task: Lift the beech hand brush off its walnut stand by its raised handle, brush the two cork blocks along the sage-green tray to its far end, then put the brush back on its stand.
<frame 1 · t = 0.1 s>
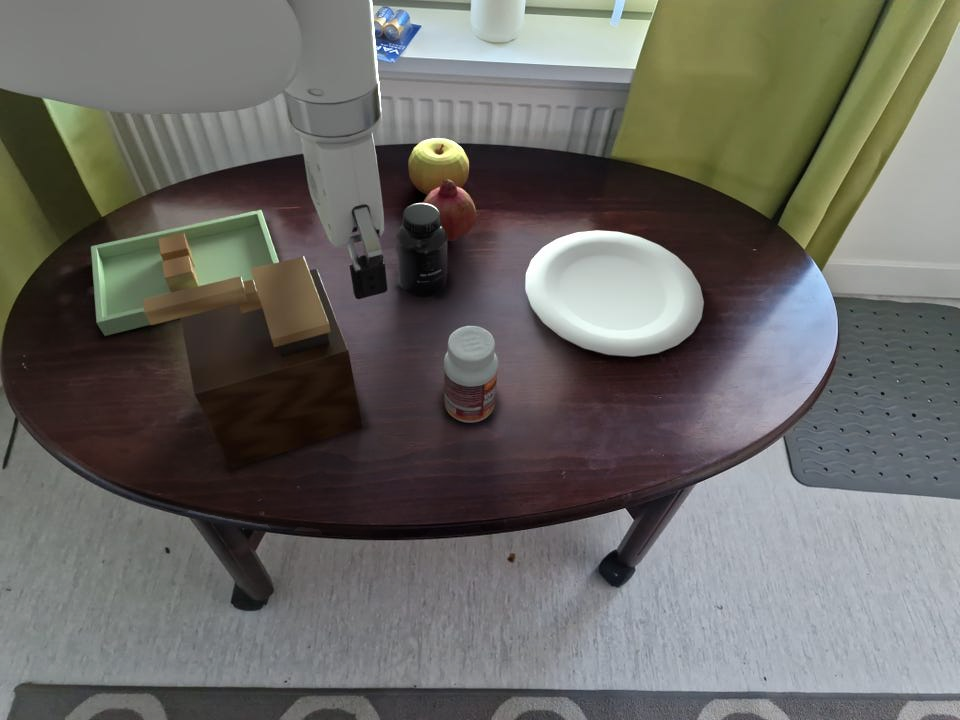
hand: (356, 261, 65), 20 cm above the table, tool pointing down, fingers open, 9 cm apart
fruit: (448, 237, 99), on the table
supplement bottle: (423, 283, 92), on the table
cork block 2: (180, 262, 92), point 1 cm above the table, touching tray
tray: (191, 275, 91), on the table
cork block 1: (185, 285, 89), point 1 cm above the table, touching tray
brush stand: (286, 404, 78), on the table
apple: (439, 189, 106), on the table
brush: (294, 316, 68), point 14 cm above the table, touching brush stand
plate: (611, 296, 92), on the table
pill bottle: (469, 404, 79), on the table
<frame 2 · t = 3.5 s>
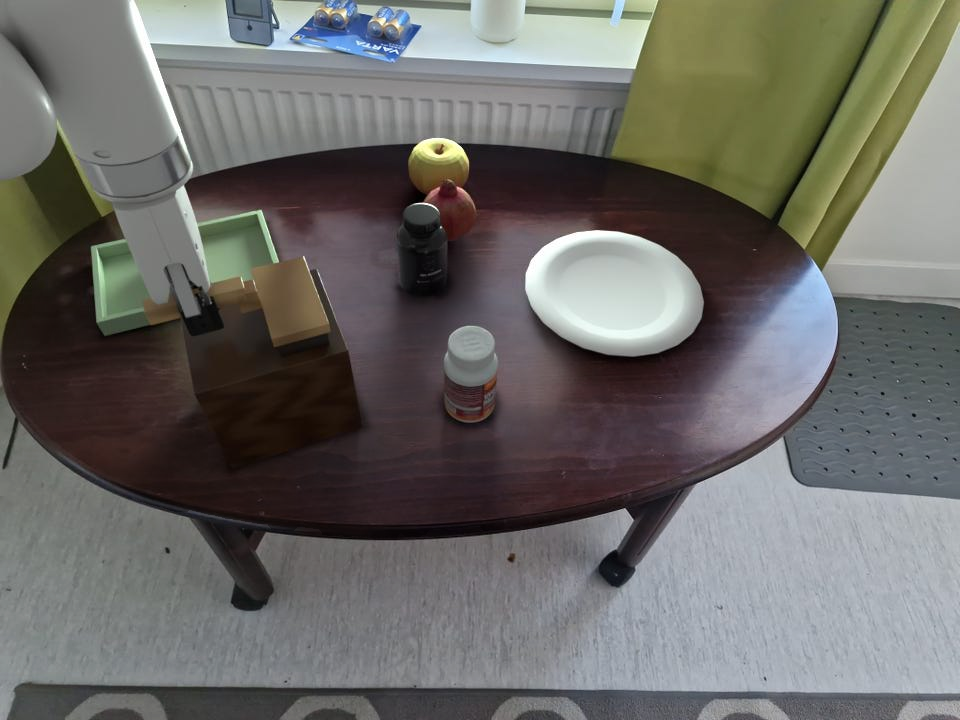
hand: (205, 320, 64), 17 cm above the table, tool pointing down, fingers closed on brush
brush: (294, 316, 68), point 14 cm above the table, touching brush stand, gripper
everything else where it was.
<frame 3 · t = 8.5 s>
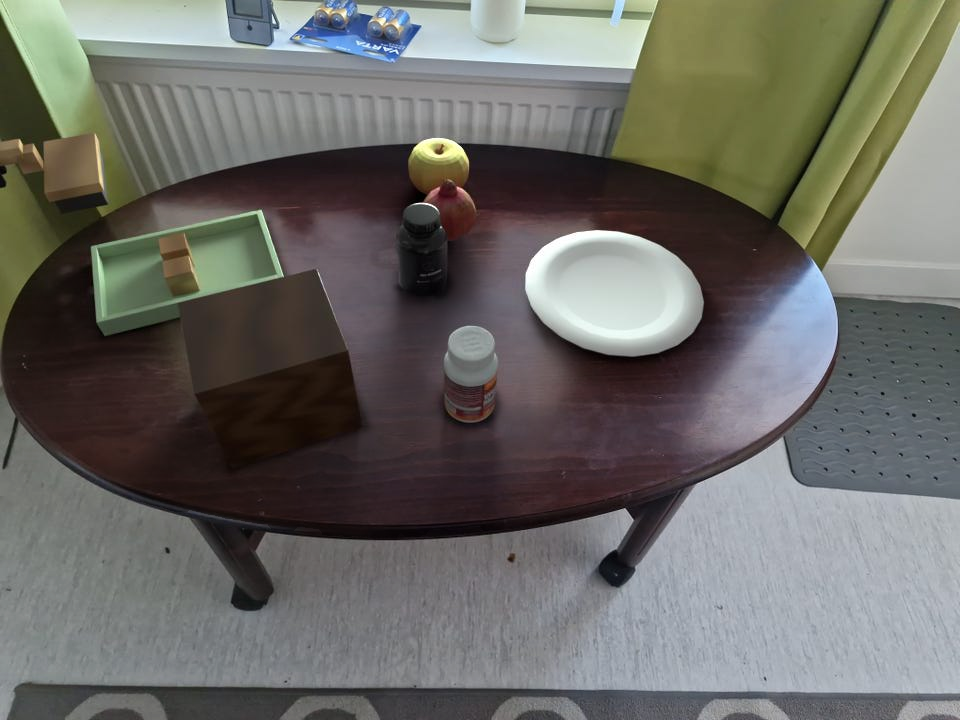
brush: (83, 184, 76), point 17 cm above the table, touching gripper
everything else where it was.
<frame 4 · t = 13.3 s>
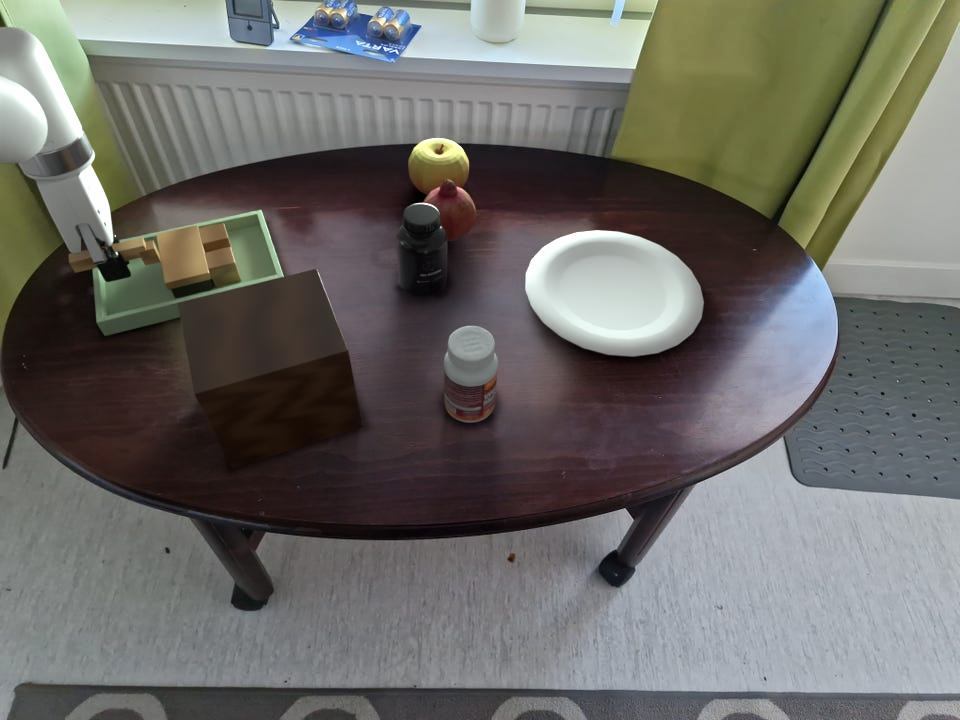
hand: (117, 271, 86), 3 cm above the table, tool pointing down, fingers closed on brush
cork block 2: (220, 252, 94), point 1 cm above the table
cork block 1: (226, 276, 91), point 1 cm above the table, touching brush
brush: (189, 270, 91), point 1 cm above the table, touching cork block 1, gripper
everything else where it was.
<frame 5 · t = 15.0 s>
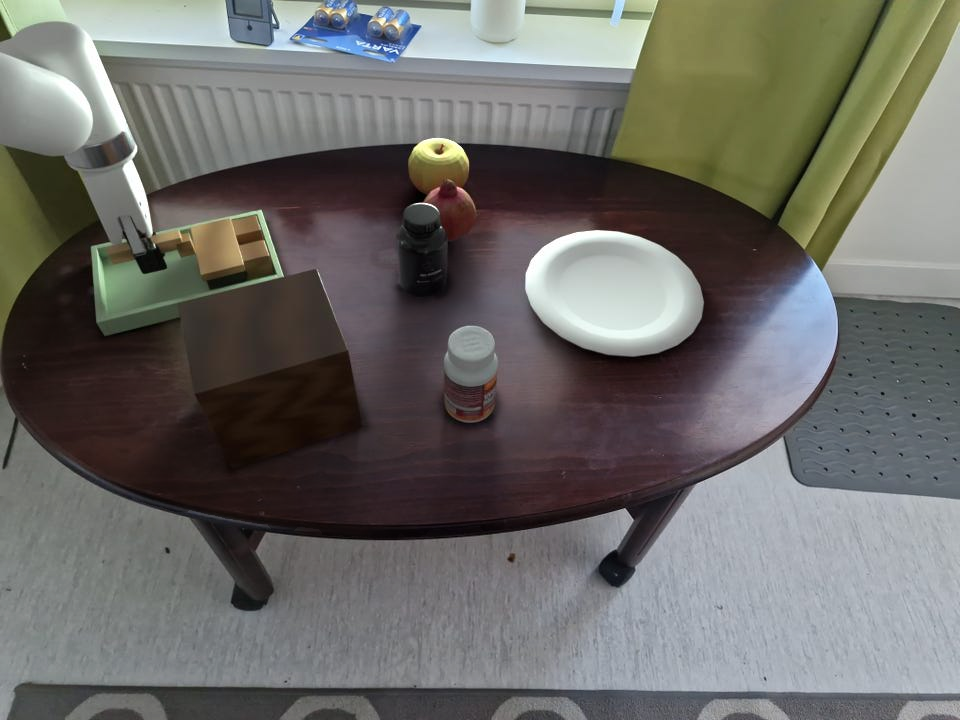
hand: (153, 263, 88), 3 cm above the table, tool pointing down, fingers closed on brush
cork block 2: (251, 244, 95), point 1 cm above the table, touching brush, tray
cork block 1: (259, 269, 92), point 1 cm above the table, touching brush, tray
brush: (222, 262, 92), point 1 cm above the table, touching cork block 1, cork block 2, gripper
everything else where it was.
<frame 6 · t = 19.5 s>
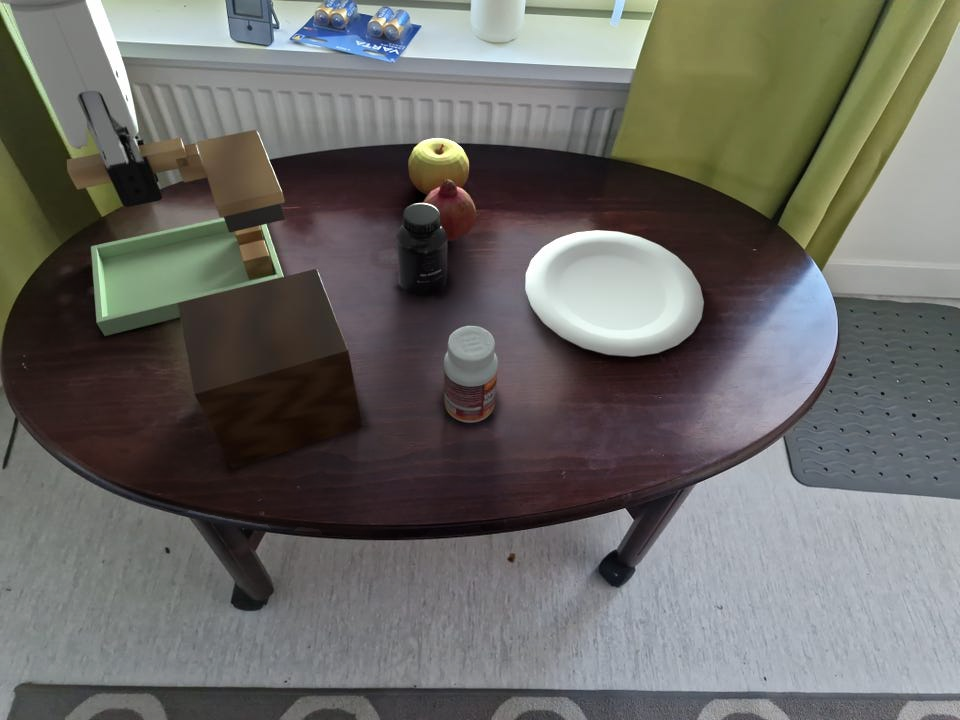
hand: (141, 192, 57), 29 cm above the table, tool pointing down, fingers closed on brush
cork block 2: (251, 244, 95), point 1 cm above the table, touching tray
cork block 1: (259, 269, 92), point 1 cm above the table, touching tray
brush: (246, 194, 61), point 26 cm above the table, touching gripper
everything else where it was.
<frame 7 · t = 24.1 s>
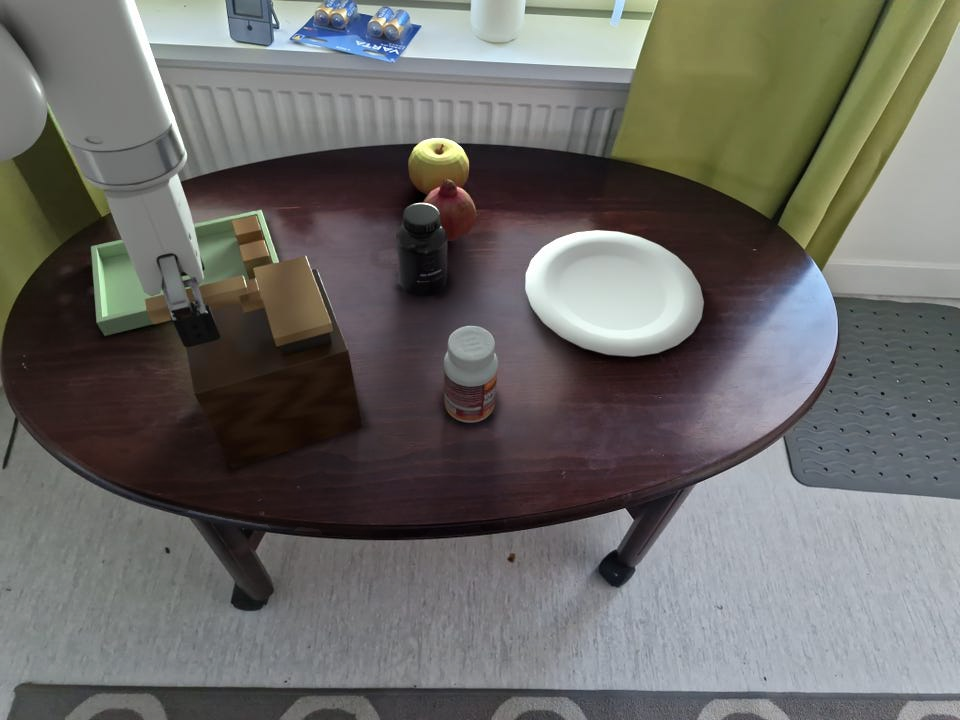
hand: (195, 305, 62), 19 cm above the table, tool pointing down, fingers open, 9 cm apart
brush: (296, 316, 68), point 14 cm above the table, touching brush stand
everything else where it was.
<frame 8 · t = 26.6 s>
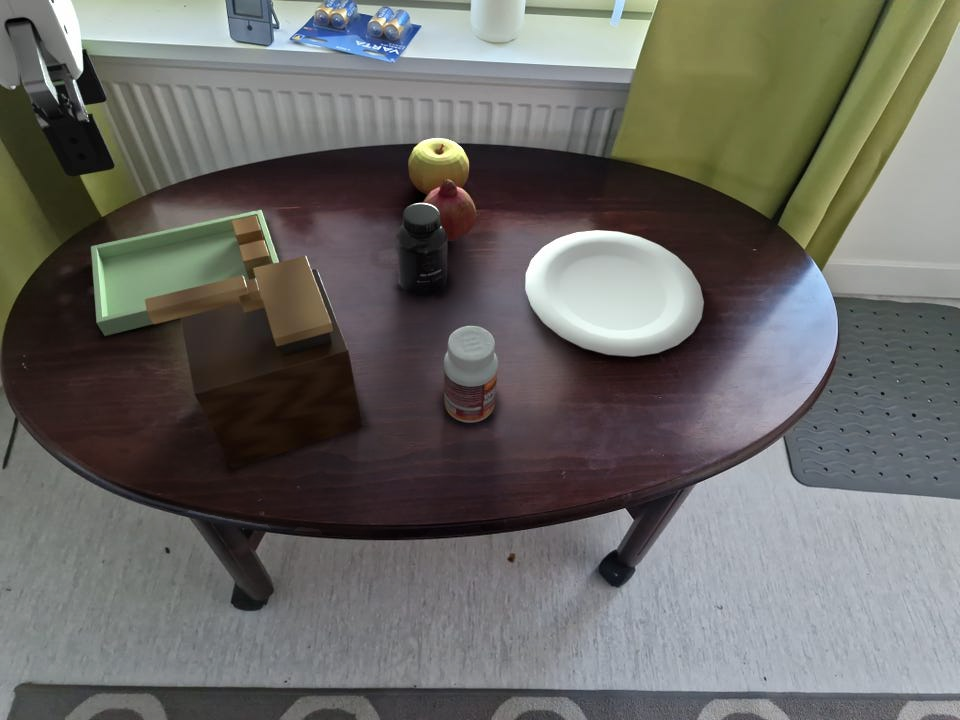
hand: (89, 135, 49), 36 cm above the table, tool pointing down, fingers open, 9 cm apart
nothing on the table moved.
at the end: cork block 1 inside the target area in the tray (2.9 cm from its centre), point 0.6 cm above the tray's base; cork block 2 inside the target area in the tray (3.0 cm from its centre), point 0.6 cm above the tray's base; brush inside the target area on the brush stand (0.7 cm from its centre), point 14.0 cm above the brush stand's base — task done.
